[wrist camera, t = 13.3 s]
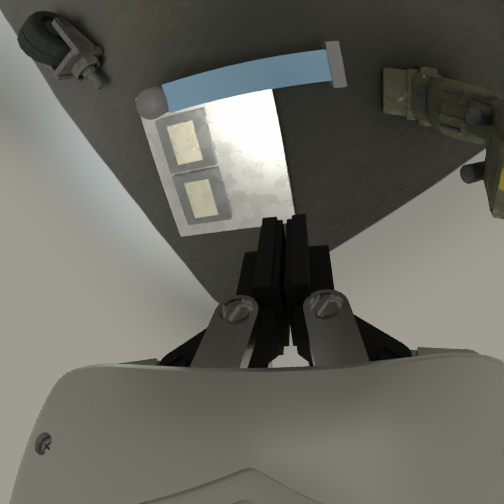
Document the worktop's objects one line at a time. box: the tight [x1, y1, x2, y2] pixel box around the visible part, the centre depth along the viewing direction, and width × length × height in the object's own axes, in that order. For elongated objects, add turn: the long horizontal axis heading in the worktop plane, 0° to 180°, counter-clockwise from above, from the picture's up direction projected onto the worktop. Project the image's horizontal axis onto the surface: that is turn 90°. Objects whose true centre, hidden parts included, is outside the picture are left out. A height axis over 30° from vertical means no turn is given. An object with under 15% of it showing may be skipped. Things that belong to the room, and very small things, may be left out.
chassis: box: [136, 89, 296, 237], centre depth 37 cm, size 20×16×5 cm
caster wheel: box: [18, 11, 104, 90], centre depth 27 cm, size 6×10×15 cm
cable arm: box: [136, 41, 347, 120], centre depth 27 cm, size 20×4×4 cm, turn 103°
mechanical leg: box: [382, 66, 504, 219], centre depth 20 cm, size 14×7×30 cm, turn 95°
